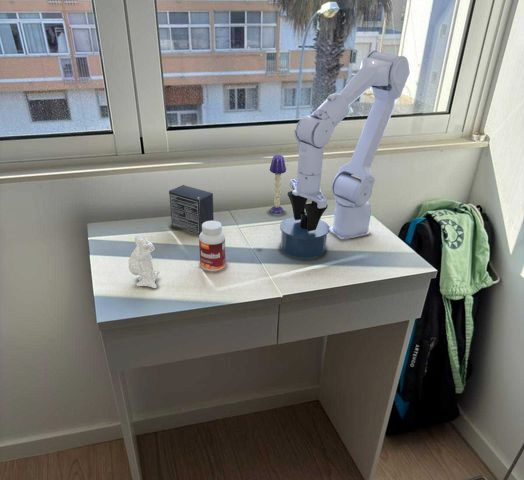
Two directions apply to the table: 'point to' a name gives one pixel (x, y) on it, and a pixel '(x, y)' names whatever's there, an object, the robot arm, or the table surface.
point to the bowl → (303, 246)
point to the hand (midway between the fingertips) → (305, 224)
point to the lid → (303, 228)
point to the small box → (190, 208)
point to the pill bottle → (212, 246)
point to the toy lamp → (277, 181)
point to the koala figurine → (143, 263)
